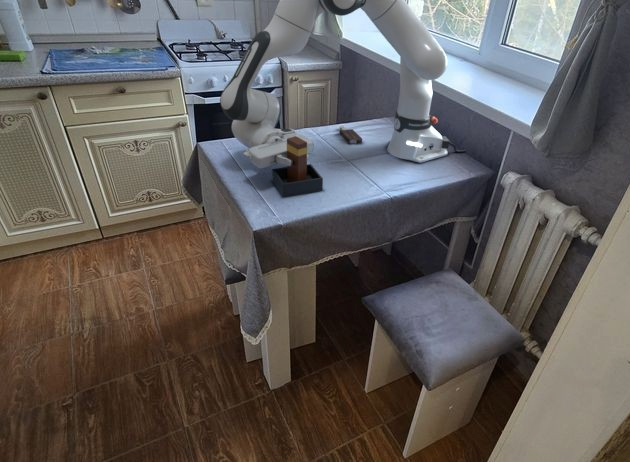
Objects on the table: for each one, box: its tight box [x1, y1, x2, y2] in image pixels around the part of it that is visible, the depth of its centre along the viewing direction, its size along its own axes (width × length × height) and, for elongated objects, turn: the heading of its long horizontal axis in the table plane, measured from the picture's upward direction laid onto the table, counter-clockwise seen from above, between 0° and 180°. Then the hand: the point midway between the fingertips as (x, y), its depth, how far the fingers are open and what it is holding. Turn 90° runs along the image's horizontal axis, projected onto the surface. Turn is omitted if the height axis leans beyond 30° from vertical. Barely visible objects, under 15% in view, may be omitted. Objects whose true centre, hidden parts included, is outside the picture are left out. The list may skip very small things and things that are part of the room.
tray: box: [271, 163, 324, 198], centre depth 128 cm, size 12×10×4 cm
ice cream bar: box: [339, 125, 363, 145], centre depth 163 cm, size 5×2×15 cm
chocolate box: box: [286, 136, 308, 183], centre depth 124 cm, size 3×5×14 cm, turn 47°
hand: (299, 160), depth 123 cm, fingers open, 4 cm apart
